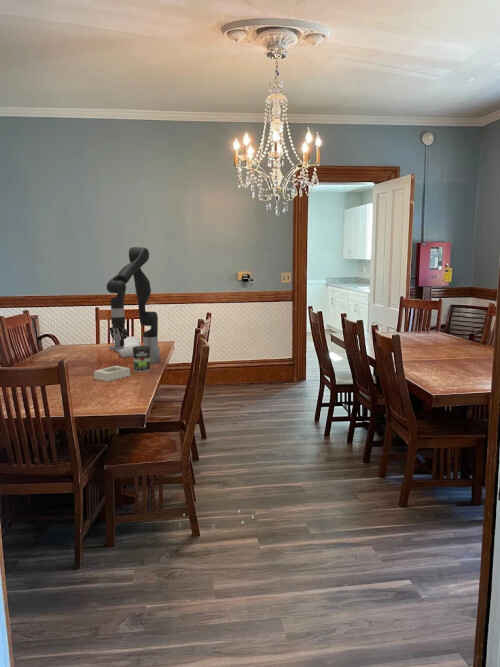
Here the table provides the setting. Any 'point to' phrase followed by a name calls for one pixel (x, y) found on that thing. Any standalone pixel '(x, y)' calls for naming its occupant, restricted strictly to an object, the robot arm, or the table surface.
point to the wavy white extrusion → (128, 346)
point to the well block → (111, 373)
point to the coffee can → (141, 358)
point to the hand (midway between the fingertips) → (119, 345)
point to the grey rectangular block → (117, 343)
